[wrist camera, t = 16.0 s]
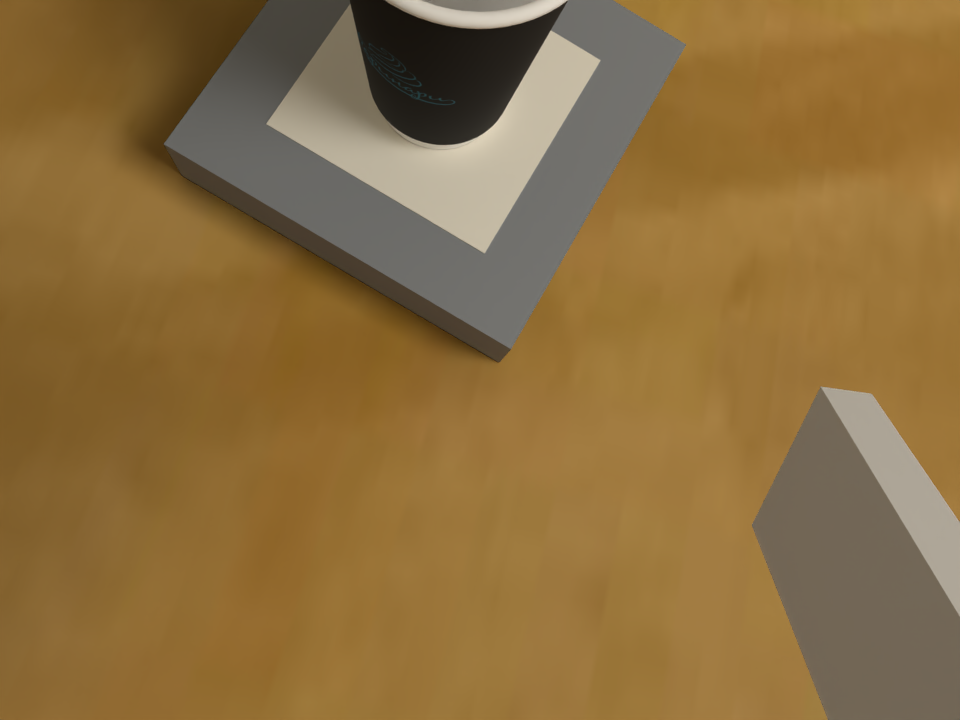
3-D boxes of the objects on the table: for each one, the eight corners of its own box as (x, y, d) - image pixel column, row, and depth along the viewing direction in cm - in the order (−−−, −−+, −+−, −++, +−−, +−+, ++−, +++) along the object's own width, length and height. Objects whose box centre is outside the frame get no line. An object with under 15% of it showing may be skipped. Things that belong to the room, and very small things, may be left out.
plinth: (181, 175, 33) (163, 143, 30) (373, -92, 37) (373, -146, 34) (498, 362, 34) (511, 349, 31) (661, 81, 37) (686, 43, 34)
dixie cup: (328, 179, 31) (303, 5, 20) (342, -10, 32) (325, -266, 22) (535, 196, 32) (616, 38, 21) (540, 11, 33) (617, -225, 23)
